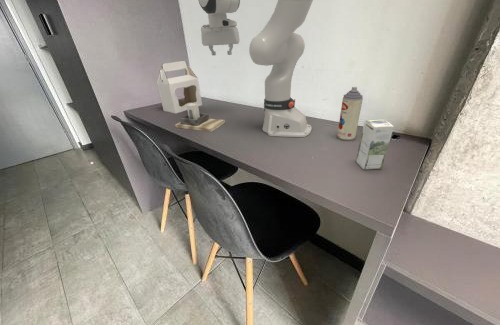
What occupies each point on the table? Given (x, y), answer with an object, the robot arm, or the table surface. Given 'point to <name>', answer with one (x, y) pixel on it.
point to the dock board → (200, 123)
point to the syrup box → (374, 144)
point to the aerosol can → (349, 115)
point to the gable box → (171, 84)
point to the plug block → (193, 111)
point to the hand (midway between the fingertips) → (221, 55)
